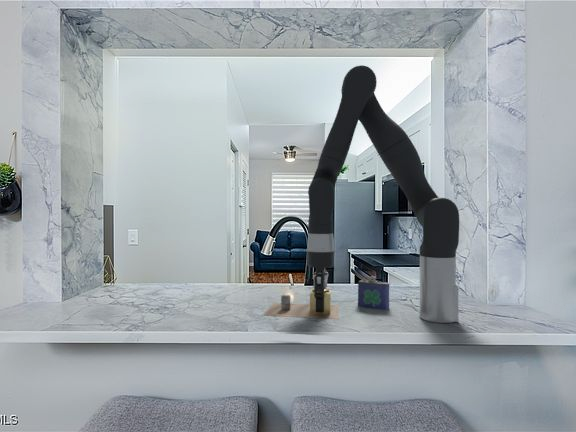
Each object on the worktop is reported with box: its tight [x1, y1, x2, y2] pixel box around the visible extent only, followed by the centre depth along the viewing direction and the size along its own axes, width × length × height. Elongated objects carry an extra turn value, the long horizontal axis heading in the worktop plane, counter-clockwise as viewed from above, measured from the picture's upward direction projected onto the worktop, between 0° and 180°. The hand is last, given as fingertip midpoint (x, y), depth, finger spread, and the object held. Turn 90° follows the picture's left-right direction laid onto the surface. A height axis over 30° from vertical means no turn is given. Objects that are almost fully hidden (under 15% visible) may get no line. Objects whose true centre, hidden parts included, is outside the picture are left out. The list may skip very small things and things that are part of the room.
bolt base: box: [262, 294, 340, 320], centre depth 99 cm, size 20×14×6 cm
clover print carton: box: [357, 275, 390, 310], centre depth 103 cm, size 9×3×11 cm, turn 63°
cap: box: [309, 288, 332, 314], centre depth 99 cm, size 6×6×6 cm
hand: (320, 309), depth 99 cm, fingers closed on cap, 5 cm apart
